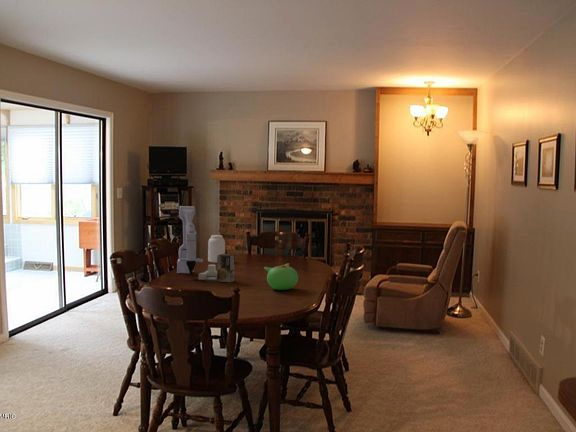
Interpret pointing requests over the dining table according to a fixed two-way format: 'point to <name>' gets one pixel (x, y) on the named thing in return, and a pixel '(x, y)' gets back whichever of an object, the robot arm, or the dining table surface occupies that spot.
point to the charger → (211, 268)
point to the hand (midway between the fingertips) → (191, 273)
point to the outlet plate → (211, 273)
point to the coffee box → (225, 268)
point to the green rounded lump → (281, 277)
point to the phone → (211, 279)
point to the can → (215, 247)
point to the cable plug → (203, 276)
